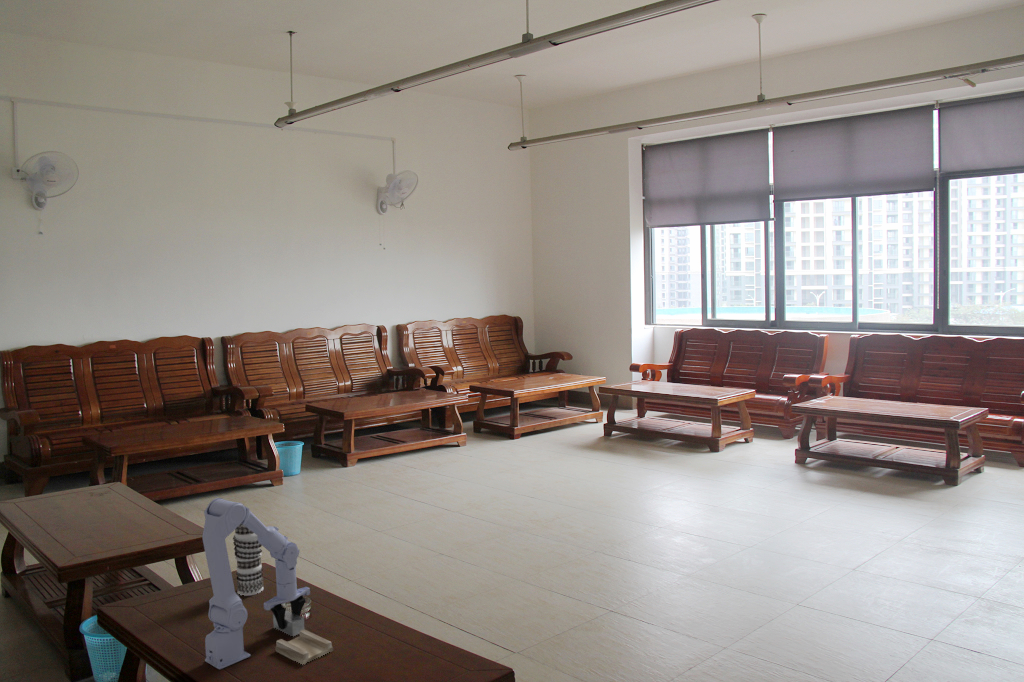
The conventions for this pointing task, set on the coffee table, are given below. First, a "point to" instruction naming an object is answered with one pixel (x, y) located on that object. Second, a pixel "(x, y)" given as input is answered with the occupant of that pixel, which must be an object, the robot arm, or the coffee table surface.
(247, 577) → the decorative candle
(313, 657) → the cradle
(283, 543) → the robot arm
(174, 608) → the coffee table surface
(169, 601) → the coffee table surface
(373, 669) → the coffee table surface
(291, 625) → the grey rectangular block
